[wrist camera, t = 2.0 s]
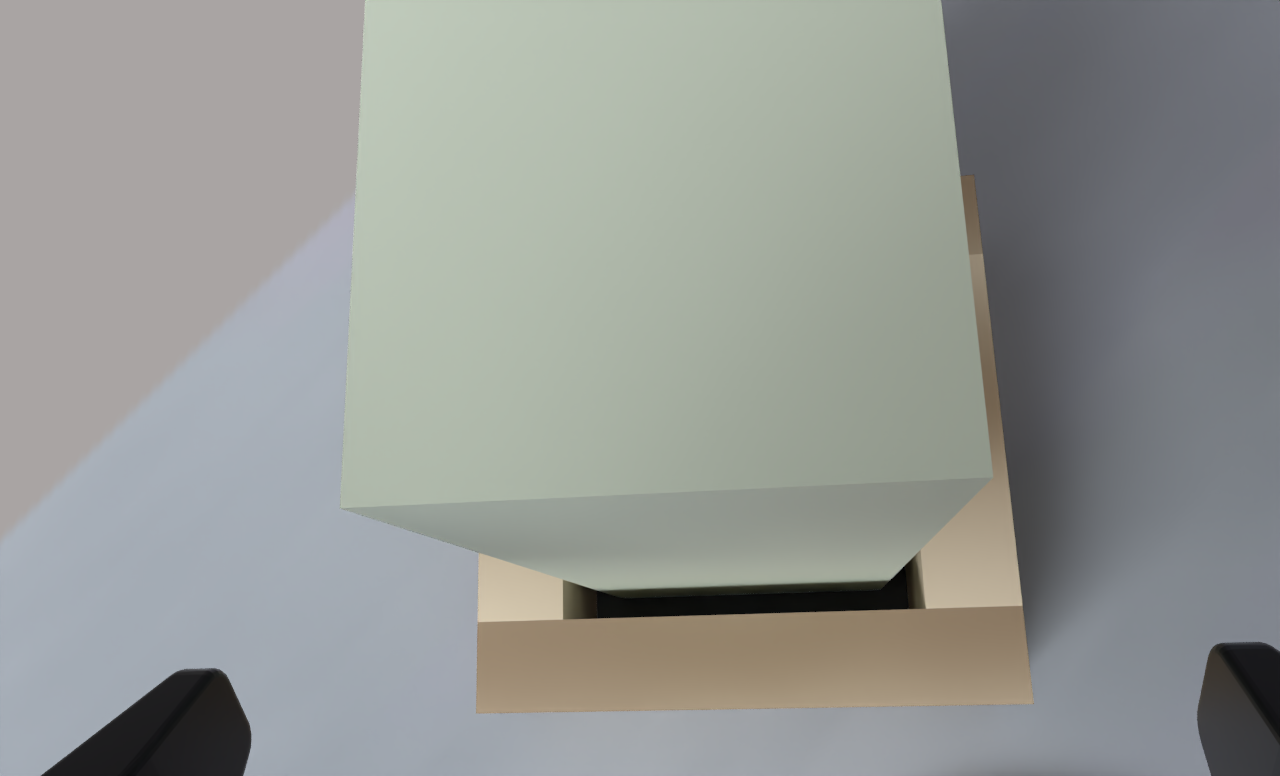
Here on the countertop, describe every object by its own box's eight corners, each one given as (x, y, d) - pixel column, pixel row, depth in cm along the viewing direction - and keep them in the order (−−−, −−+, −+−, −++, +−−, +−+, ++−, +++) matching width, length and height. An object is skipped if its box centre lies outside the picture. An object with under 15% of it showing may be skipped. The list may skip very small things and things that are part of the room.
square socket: (1001, 697, 19) (1033, 704, 16) (523, 705, 21) (475, 713, 18) (951, 239, 21) (974, 174, 19) (525, 273, 23) (484, 218, 20)
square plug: (879, 590, 20) (993, 477, 8) (621, 598, 21) (340, 508, 8) (860, 339, 21) (928, -108, 9) (618, 356, 22) (366, -37, 10)
